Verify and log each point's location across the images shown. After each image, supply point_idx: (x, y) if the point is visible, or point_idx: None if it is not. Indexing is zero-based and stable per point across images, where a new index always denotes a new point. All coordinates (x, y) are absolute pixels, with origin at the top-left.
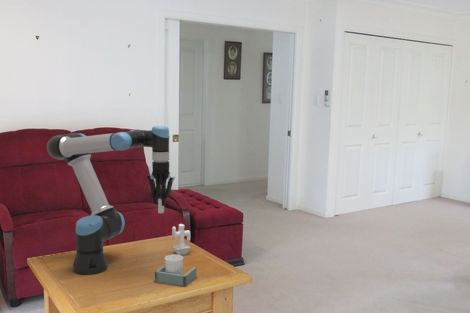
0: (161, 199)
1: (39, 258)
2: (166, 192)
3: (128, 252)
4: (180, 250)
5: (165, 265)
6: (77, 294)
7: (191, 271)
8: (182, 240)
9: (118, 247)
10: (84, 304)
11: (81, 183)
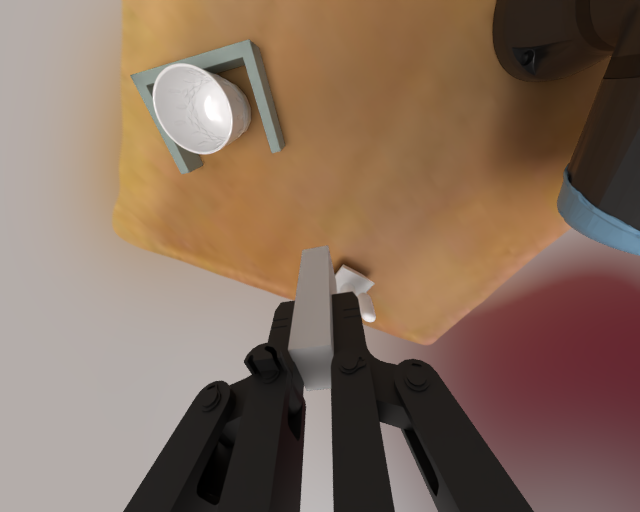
0: (291, 350)
1: None
2: (167, 484)
3: (487, 215)
4: (338, 271)
5: (217, 76)
6: None
7: (161, 134)
8: None
9: (536, 230)
10: None
11: None
